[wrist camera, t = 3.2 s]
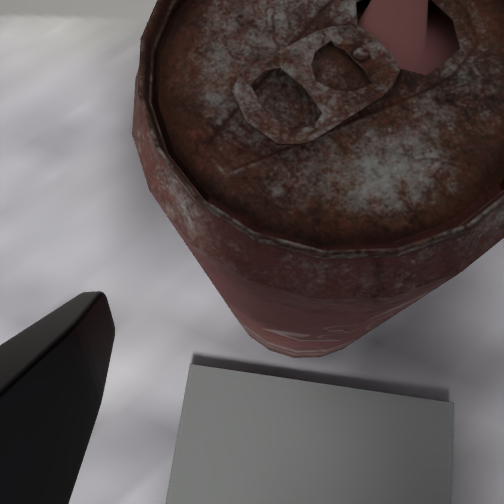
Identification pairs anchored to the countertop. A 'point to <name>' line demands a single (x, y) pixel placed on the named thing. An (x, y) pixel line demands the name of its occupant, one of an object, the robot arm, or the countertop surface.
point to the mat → (307, 443)
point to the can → (325, 153)
